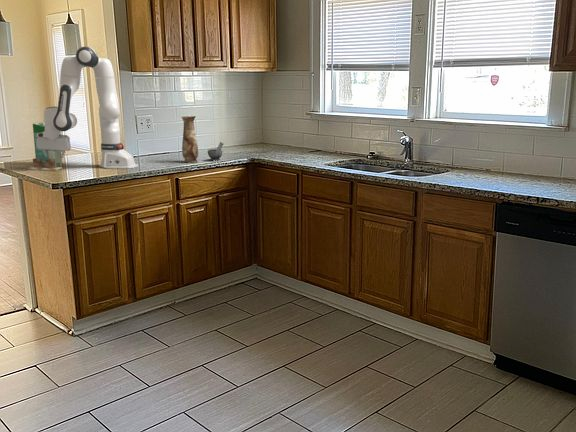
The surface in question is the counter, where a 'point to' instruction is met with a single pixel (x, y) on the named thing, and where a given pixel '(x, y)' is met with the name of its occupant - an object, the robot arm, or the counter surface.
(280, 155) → the counter surface
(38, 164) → the jig
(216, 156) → the mortar and pestle
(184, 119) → the vase
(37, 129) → the milk carton
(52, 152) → the pale green flat box
